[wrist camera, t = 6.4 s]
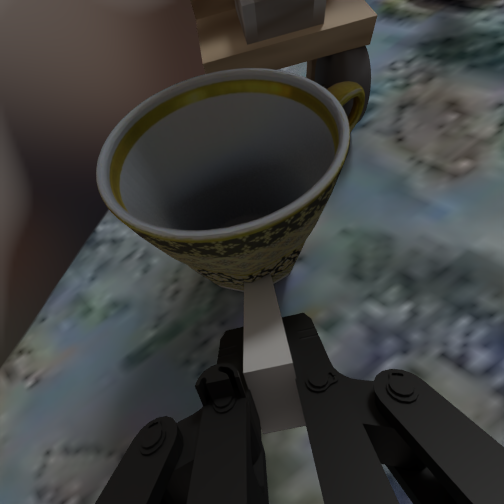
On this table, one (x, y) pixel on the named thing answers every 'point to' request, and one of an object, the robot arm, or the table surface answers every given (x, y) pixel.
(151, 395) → the table surface
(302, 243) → the ceramic cup
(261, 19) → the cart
